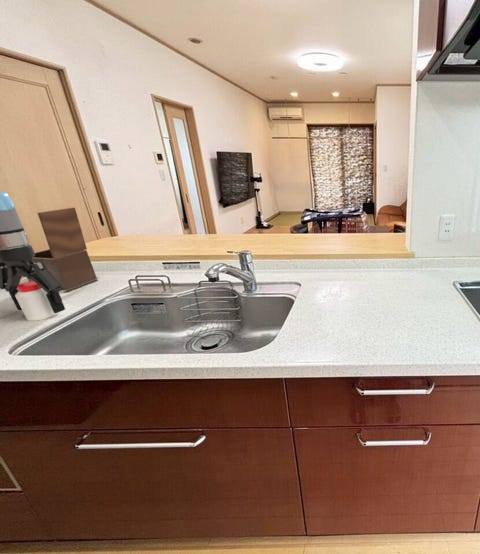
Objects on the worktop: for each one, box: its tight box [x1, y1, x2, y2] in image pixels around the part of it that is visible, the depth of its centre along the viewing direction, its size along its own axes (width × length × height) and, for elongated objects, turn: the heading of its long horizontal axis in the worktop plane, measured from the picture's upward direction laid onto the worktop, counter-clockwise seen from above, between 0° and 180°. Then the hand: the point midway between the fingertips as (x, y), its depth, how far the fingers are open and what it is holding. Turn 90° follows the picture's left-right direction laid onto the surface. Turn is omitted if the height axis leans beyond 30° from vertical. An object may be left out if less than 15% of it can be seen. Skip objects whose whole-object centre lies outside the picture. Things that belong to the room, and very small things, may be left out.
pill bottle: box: [15, 281, 61, 322], centre depth 94 cm, size 8×8×11 cm
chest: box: [26, 248, 99, 293], centre depth 115 cm, size 16×12×13 cm
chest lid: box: [37, 207, 88, 258], centre depth 109 cm, size 16×12×1 cm
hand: (41, 309), depth 95 cm, fingers open, 13 cm apart
